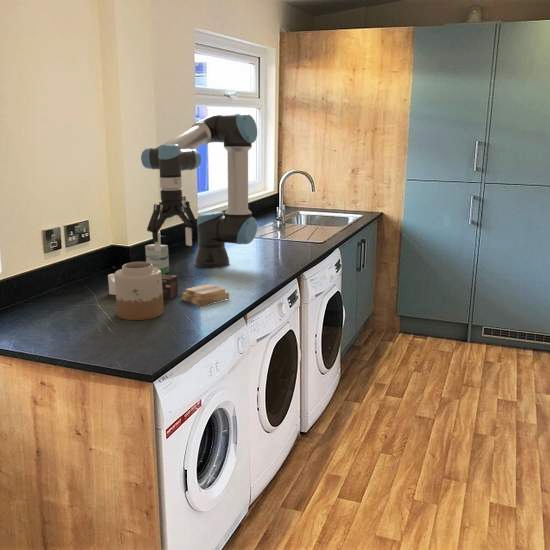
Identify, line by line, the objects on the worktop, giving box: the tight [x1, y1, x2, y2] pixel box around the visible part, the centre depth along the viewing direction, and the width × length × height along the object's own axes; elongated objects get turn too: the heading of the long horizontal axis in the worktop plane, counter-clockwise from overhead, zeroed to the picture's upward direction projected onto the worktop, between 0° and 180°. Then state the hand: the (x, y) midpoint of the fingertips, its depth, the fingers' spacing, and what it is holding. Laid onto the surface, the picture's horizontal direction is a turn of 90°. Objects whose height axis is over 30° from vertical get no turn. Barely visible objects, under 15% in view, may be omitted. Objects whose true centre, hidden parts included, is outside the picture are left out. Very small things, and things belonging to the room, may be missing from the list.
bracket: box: [107, 273, 116, 296], centre depth 230 cm, size 13×7×8 cm, turn 157°
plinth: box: [181, 283, 230, 307], centre depth 218 cm, size 12×12×4 cm
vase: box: [113, 261, 164, 321], centre depth 202 cm, size 15×15×17 cm
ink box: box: [144, 243, 170, 275], centre depth 256 cm, size 9×5×12 cm, turn 65°
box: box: [162, 274, 179, 299], centre depth 223 cm, size 6×6×7 cm
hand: (173, 248), depth 220 cm, fingers open, 13 cm apart
